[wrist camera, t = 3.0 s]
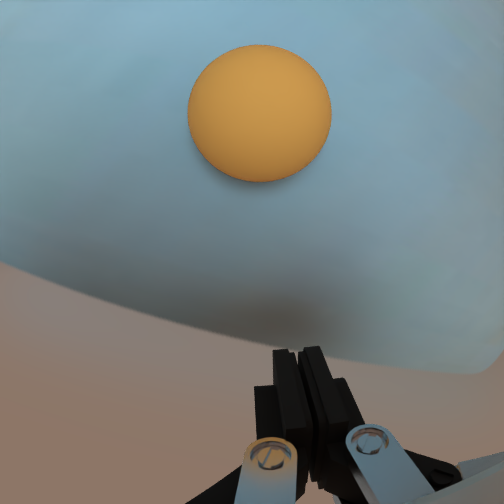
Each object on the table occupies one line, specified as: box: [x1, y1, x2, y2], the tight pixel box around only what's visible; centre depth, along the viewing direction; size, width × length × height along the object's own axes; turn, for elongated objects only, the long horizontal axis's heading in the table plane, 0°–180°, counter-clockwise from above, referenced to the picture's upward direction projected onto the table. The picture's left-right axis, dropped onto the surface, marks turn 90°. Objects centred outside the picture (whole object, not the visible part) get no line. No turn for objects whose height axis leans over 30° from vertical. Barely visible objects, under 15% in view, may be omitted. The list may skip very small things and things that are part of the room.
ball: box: [188, 45, 331, 182], centre depth 12 cm, size 6×6×6 cm
